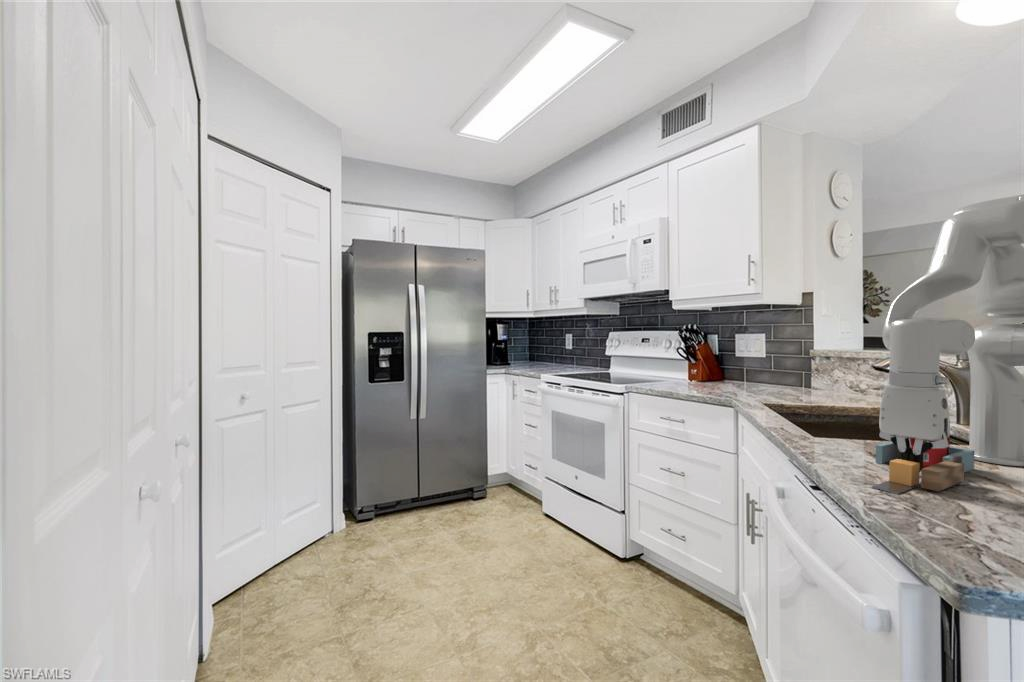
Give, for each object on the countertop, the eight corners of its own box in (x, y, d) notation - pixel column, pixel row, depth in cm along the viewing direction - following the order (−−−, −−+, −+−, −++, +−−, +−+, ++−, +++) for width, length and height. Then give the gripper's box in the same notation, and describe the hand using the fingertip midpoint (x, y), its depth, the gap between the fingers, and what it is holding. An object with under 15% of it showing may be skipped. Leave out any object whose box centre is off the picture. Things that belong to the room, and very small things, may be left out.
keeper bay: (901, 454, 112) (901, 438, 112) (974, 468, 101) (974, 450, 101) (875, 462, 106) (876, 445, 105) (950, 478, 94) (950, 458, 94)
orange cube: (897, 478, 93) (897, 458, 93) (919, 483, 90) (919, 463, 90) (889, 481, 91) (889, 461, 91) (911, 486, 88) (911, 465, 88)
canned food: (958, 471, 99) (959, 420, 99) (915, 469, 100) (916, 418, 100) (933, 461, 106) (934, 414, 106) (893, 459, 108) (894, 412, 108)
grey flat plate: (895, 479, 93) (895, 478, 93) (920, 485, 90) (920, 484, 90) (872, 487, 88) (872, 486, 88) (897, 494, 85) (897, 492, 85)
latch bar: (948, 476, 93) (949, 454, 93) (965, 480, 91) (965, 457, 91) (921, 487, 87) (921, 463, 87) (938, 491, 85) (938, 466, 85)
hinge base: (946, 477, 94) (946, 476, 94) (972, 483, 91) (972, 481, 91) (938, 480, 92) (938, 479, 92) (964, 486, 89) (964, 485, 89)
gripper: (971, 383, 87) (969, 480, 88) (878, 376, 100) (876, 460, 101) (955, 385, 83) (953, 486, 84) (860, 378, 96) (859, 465, 97)
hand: (911, 472), depth 92 cm, fingers closed
